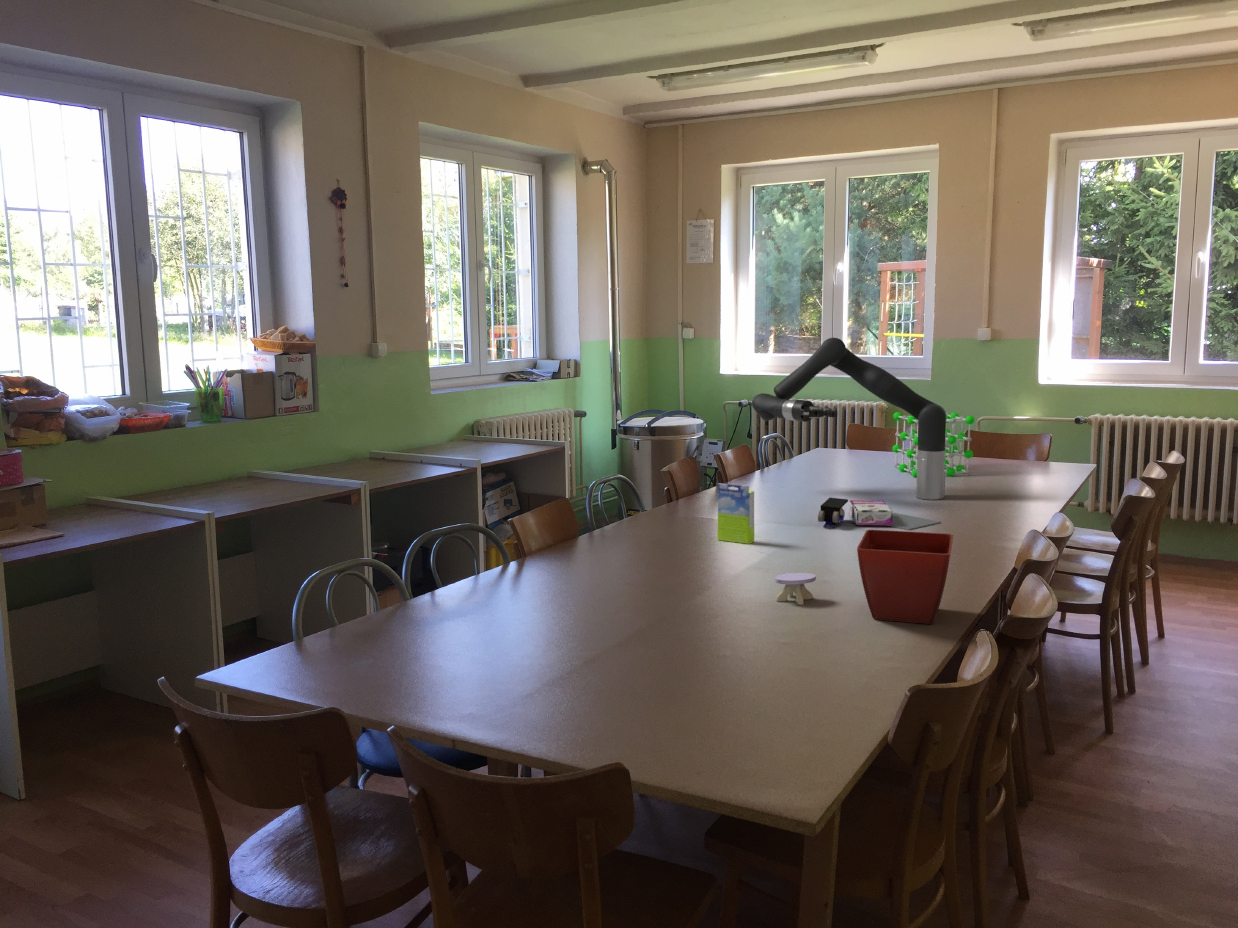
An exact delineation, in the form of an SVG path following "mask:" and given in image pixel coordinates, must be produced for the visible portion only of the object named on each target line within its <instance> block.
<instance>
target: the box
mask: <svg viewBox="0 0 1238 928" xmlns="http://www.w3.org/2000/svg"><path fill="white" fill-rule="evenodd" d="M731 487H734V488H736V489H734V488H731ZM717 489H718V490H717V541H720V542H721V541H723V542H732V543H740V544H746V545H750V544H752V543H754V542H755V491H754V490H749V489H750V486H749V485H742V484H729V483H722V482H721V483H720V482H719V483H717Z"/></svg>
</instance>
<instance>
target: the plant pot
mask: <svg viewBox="0 0 1238 928" xmlns="http://www.w3.org/2000/svg"><path fill="white" fill-rule="evenodd" d="M953 539H954V534H952V533H940V532H938V533H937V532H923V531H908V530H906V531H904V530H903V531H902V530H889V529H888V530H886V529H883V530H882V529H866V530H865V532H864V534H863V536H862V538H861V539H860V542H859V543H858V546H857V548H856V550H857V559H858V560H857V561H858V567H859V573H860V577H861V582H862V586H863V590H864V595H865V598H866V601H867V604H868V608H869V611H870V615H871V617H872V619H874V620H878V621H879V620H880V621H892V622H902V623H914V624H915V623H916V624H927V625H930V624H934V622H935V619H936V617H937V614H938V612H939V608H940V604H941V601H942V598H943V594H944V591H945V585H946V581H947V577H948V572H949V571H948V570H949V565H950V561H951V560H950V558H951V553H952V546H953V542H954V541H953Z"/></svg>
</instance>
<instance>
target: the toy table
mask: <svg viewBox="0 0 1238 928" xmlns="http://www.w3.org/2000/svg"><path fill="white" fill-rule="evenodd" d="M816 580H817V575H816V574H814V573H809V572H787V573H783V574H778V575H776V576H775V577H774V583H776V584H780V585H785V586H784V587H783V589H782V590H781V591H780V592H779V593H778V594H777V595H776V597H775V601H776V602H787V601H788V598H793V597H794V595H795V602H796V603H797V605H799V606H803V605H805V604H804V600H812V599H814V594H813V593H812V592H811V591H810V590H808V588H807V587H806V586H805V584H809V583H813V582H816Z"/></svg>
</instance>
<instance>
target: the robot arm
mask: <svg viewBox="0 0 1238 928" xmlns="http://www.w3.org/2000/svg"><path fill="white" fill-rule="evenodd" d="M830 366H831V367H832V368H835V369H836V370H839V371H840V372H842V373H844V374H845V375H847V376H849V377H850V378H852V379H853V380H854V381H855V382H856V383H857V384H859V385H860V386H861V387H863V388H864V389H865V390H867V391H869V393H871V394H872V395H874V396H876V397H877V398H878V399H880V400H882V401H884V402H886V403H888V404H890V405H892V406H894V407H897V408H899V409H901V410H903V411H905V412H906V413H908V414H909V415H910V416H913V417H915V418H916V419H917V420H918V424H917V427H918V459H917V477H916V492H915V493H916V494H915V495H916V496H915V497H916V498H917V499H921V500H930V501H931V500H942V499H944V498H945V495H946V475H947V473H946V472H945V470H944V465H945V432H946V413H947V412H946V410H945V409H944V408H943V406H941V405H939V404H937V403H935V402H934V401H931V400H929V399H928V398H926V397H923V396H922V395H920V394H918V393H917V392H915V391H914V390H913V389H912V388H910V387H909V386H908V385H906V384H905V383H904V382H903V381H901V379H898V378H897V377H896V376H894V375H893V374H891V373H890V372H888V371H887V370H885V369H884V368H882V367H880V366H877V365H876V364H874V363H871V362H869V361H866V360H863V359H862V358H860V357H859V356H857V355H856V354H854V352H852V351H851V350H849V349H848V348H847V346H846V344H845V342H844V341H843V340H842V339H840V338H838V337H829V338H827V339H825V340H824V341H822V344H820V346H819V347H818V348H817V350H816V351H814V353H813V354H812V355H811V356H810V357H809V358H808V359H807V360H806V361H805V362H804V363H802V364H801V365H800V366H799V367H797V368H796V369H794V370H793V371H792V372H791V373H790V374H788V375H787V376H786V377H784V379H782V380H781V381H780V382H778V384H776V385H774V387H773V393H774V394H775V395H772V394H769V393H759V394H757V395H755V396H754V397H753V399H752V400H751V406H752V408H753V409H754V411H755V412H756V414H757V415H758V416H759V417H760V418H761V420H763V421H766V422H767V421H771V420H774V419H775V418H778V419H783V420H789V421H794V422H802V423H803V422H804V423H808V422H810V421H812V420H813V419H814V418H815V419H819V418H821V419H822V418H837V417H838V411H837V410H834V409H832V408H831V407H829V406H825V407H823V406H820V405H814V403H813V402H812V401H810V400H806V399H795V398H793V397H794V396H795V395H797V394H798V393H799V392H801V390H803V388H805V387H806V386H807V385H808V384H809V383H810V382H811V380H813V379H814V378H815V377H816V376H817V375H818V374H819V373H820V372H822V371H823V370H824V369H826V368H828V367H830Z"/></svg>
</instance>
